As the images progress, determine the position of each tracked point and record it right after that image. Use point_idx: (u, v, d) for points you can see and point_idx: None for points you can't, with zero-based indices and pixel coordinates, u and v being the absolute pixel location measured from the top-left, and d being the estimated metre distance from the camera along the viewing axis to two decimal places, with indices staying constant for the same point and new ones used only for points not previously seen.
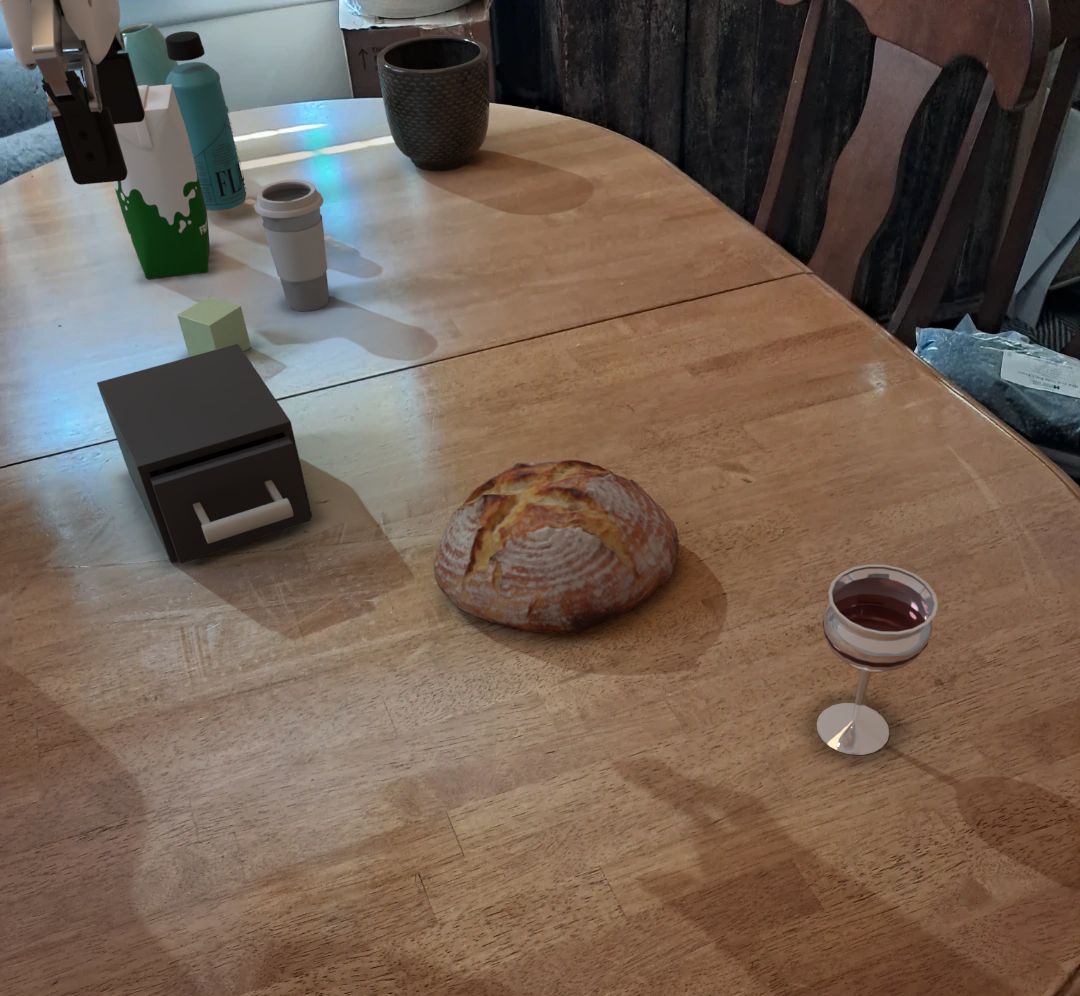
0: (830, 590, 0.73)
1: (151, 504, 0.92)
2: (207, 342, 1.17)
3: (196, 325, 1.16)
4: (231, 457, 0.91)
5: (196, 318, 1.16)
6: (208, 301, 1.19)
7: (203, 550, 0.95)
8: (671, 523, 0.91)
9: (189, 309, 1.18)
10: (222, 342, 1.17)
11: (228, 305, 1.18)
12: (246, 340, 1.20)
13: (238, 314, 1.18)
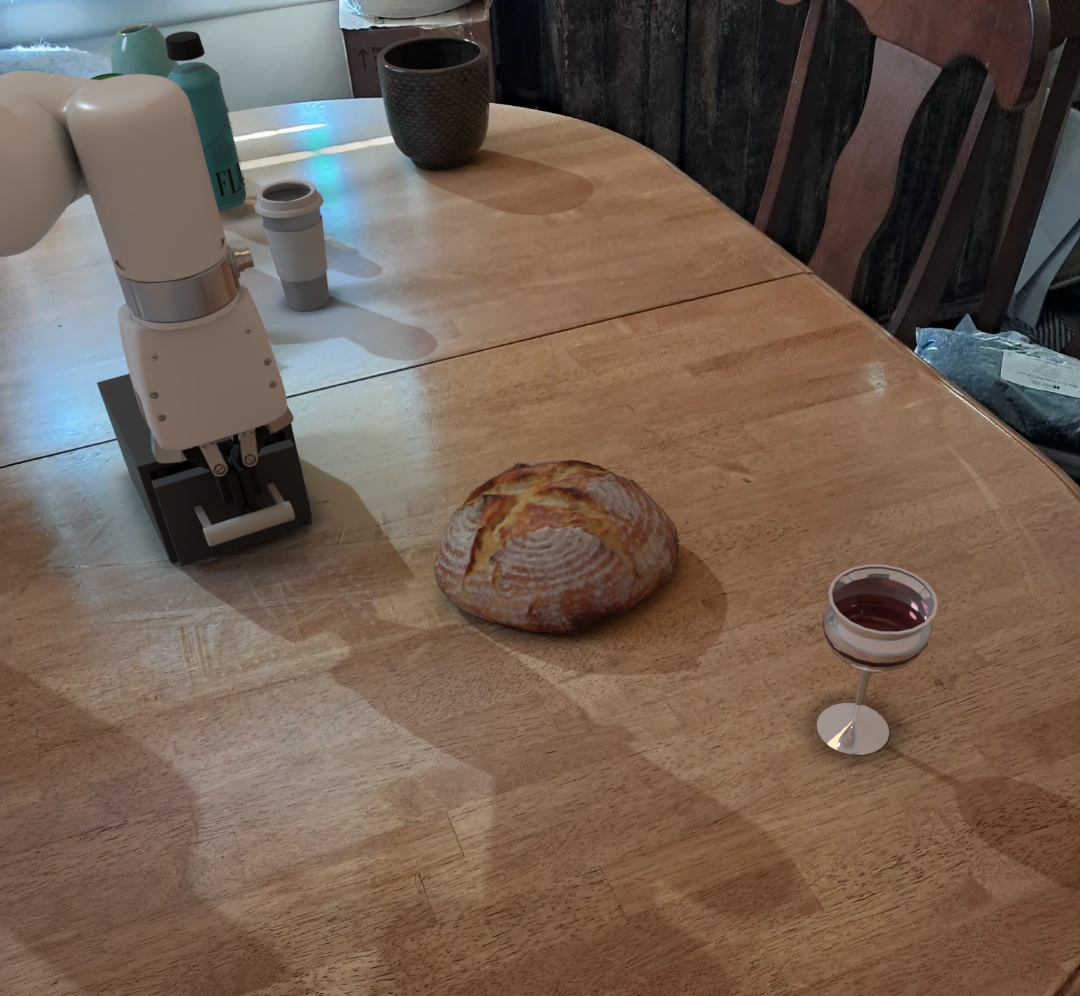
0: (830, 590, 0.73)
1: (151, 504, 0.92)
2: None
3: None
4: None
5: None
6: None
7: (204, 552, 0.95)
8: (671, 523, 0.91)
9: None
10: None
11: None
12: None
13: None
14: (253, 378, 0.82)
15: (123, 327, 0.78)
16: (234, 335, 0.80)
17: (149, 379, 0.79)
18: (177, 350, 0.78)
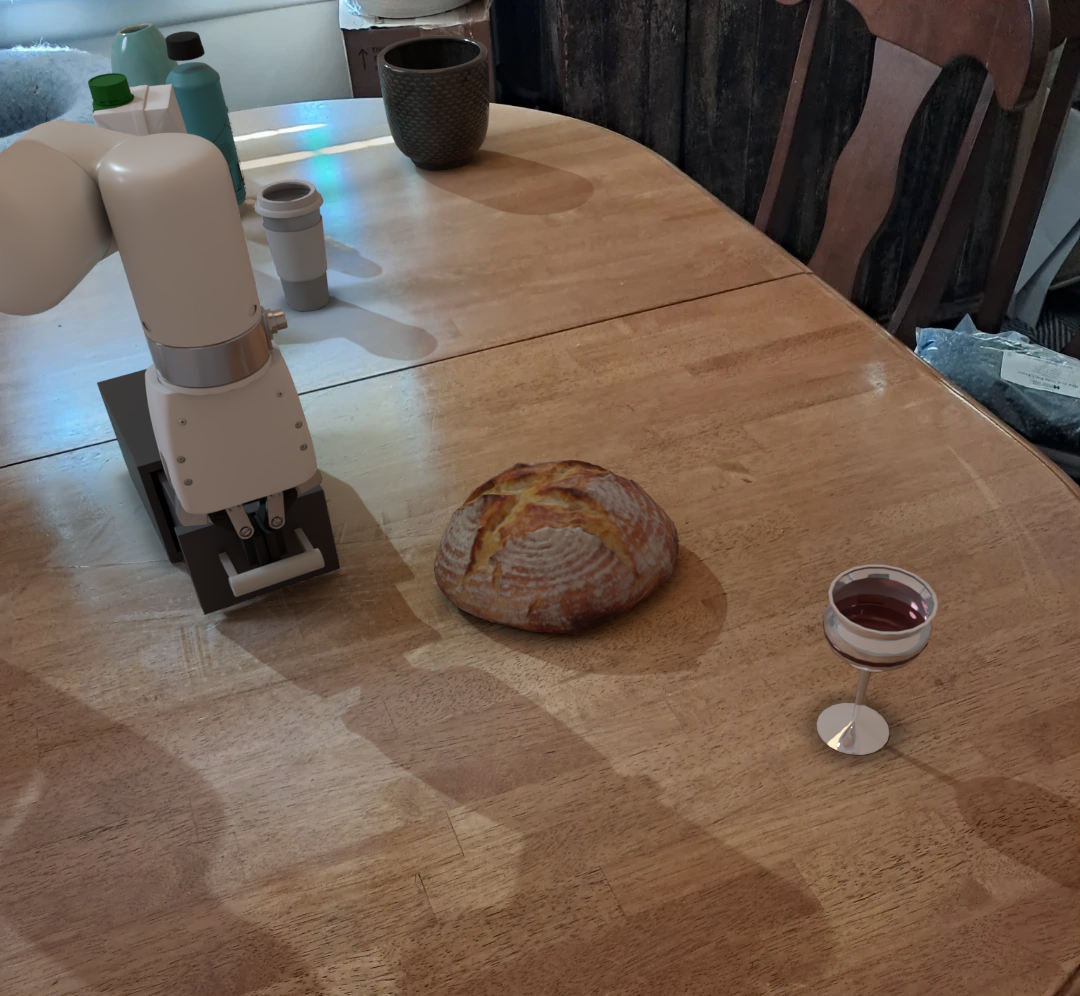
0: (830, 590, 0.73)
1: (151, 504, 0.92)
2: None
3: None
4: None
5: None
6: None
7: (229, 600, 0.91)
8: (671, 523, 0.91)
9: None
10: None
11: None
12: None
13: None
14: (283, 441, 0.79)
15: (150, 390, 0.75)
16: (266, 399, 0.77)
17: (176, 444, 0.76)
18: (206, 415, 0.75)
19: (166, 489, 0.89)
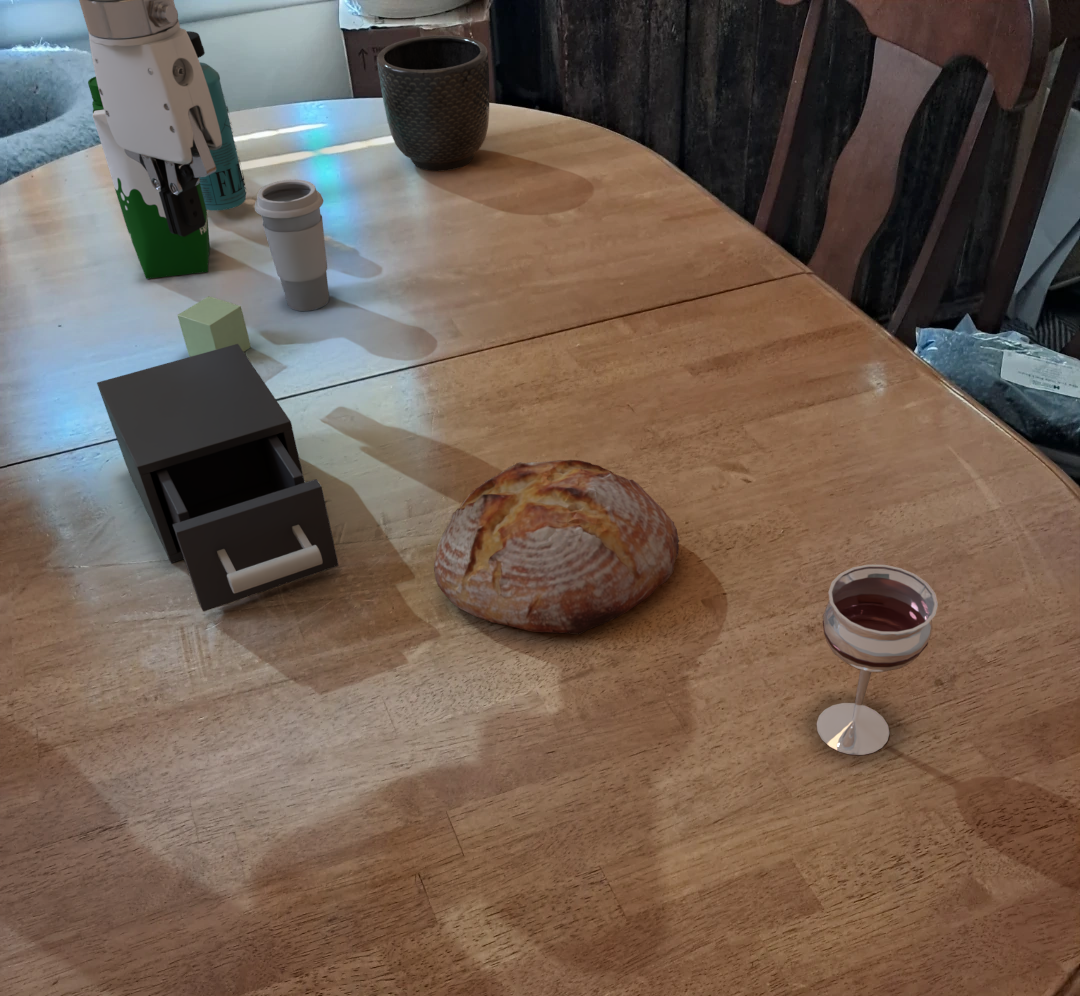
0: (830, 590, 0.73)
1: (151, 504, 0.92)
2: (207, 342, 1.17)
3: (196, 325, 1.16)
4: (258, 502, 0.87)
5: (196, 318, 1.16)
6: (208, 301, 1.19)
7: (227, 597, 0.91)
8: (671, 523, 0.91)
9: (189, 309, 1.18)
10: (222, 342, 1.17)
11: (228, 305, 1.18)
12: (246, 340, 1.20)
13: (238, 314, 1.18)
14: (157, 115, 0.99)
15: None
16: (140, 70, 0.97)
17: (97, 77, 1.01)
18: (106, 62, 0.99)
19: (165, 486, 0.90)
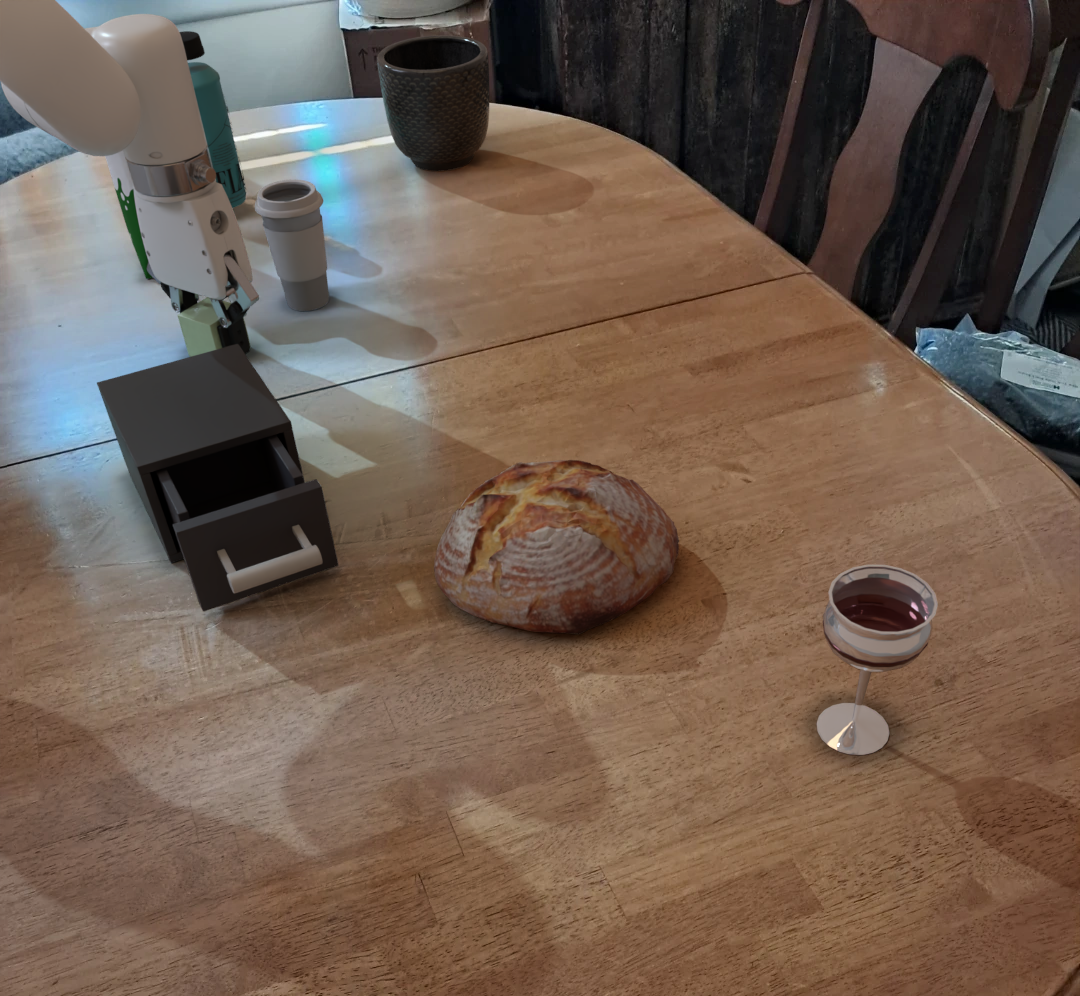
0: (830, 590, 0.73)
1: (151, 504, 0.92)
2: (207, 342, 1.17)
3: (196, 325, 1.16)
4: (258, 502, 0.87)
5: (196, 318, 1.16)
6: (208, 301, 1.19)
7: (227, 597, 0.91)
8: (671, 523, 0.91)
9: (189, 309, 1.18)
10: None
11: (228, 305, 1.18)
12: None
13: None
14: (195, 259, 1.10)
15: None
16: (181, 221, 1.07)
17: (139, 223, 1.11)
18: (149, 212, 1.09)
19: (165, 486, 0.90)
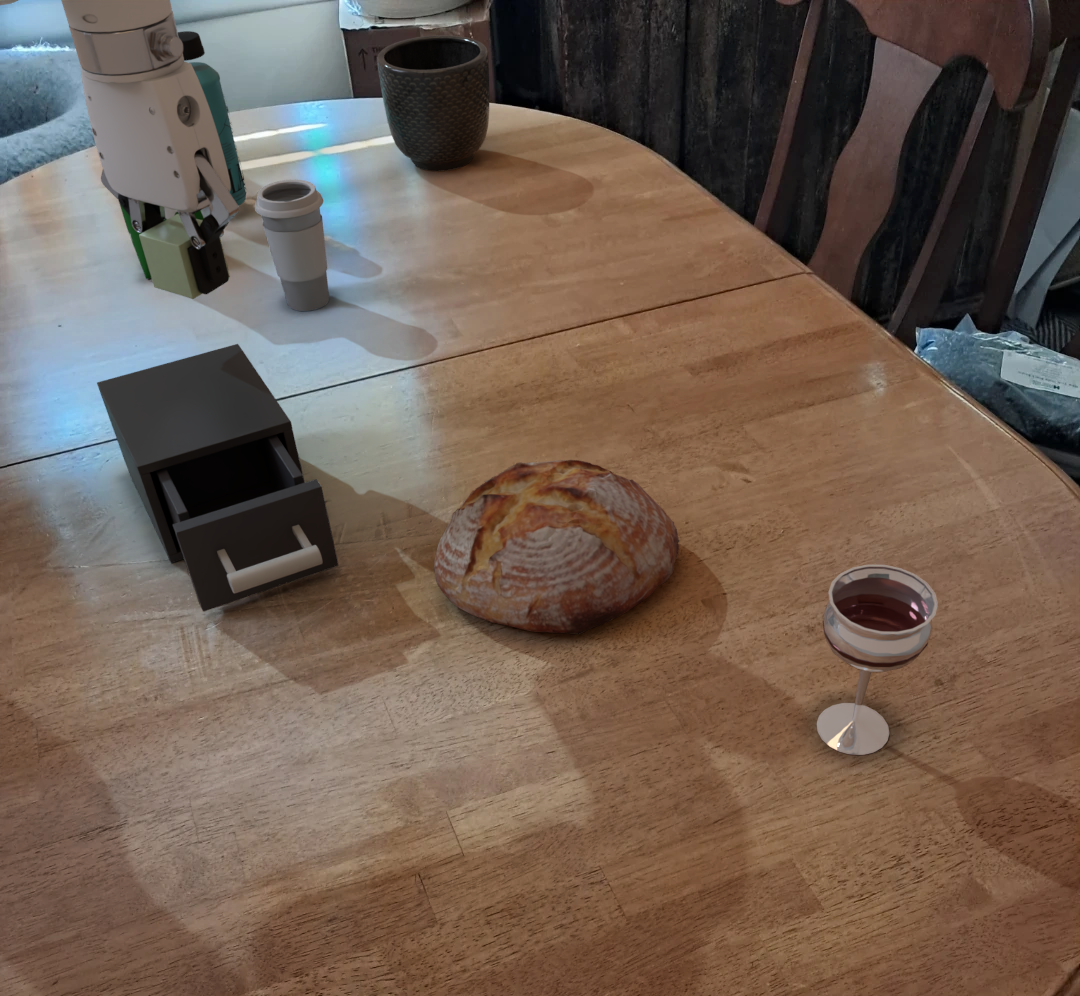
0: (830, 590, 0.73)
1: (151, 504, 0.92)
2: (176, 268, 0.96)
3: (162, 247, 0.95)
4: (258, 502, 0.87)
5: (161, 237, 0.95)
6: (177, 219, 0.97)
7: (227, 597, 0.91)
8: (671, 523, 0.91)
9: (153, 228, 0.96)
10: None
11: None
12: None
13: None
14: (159, 159, 0.88)
15: None
16: (140, 109, 0.86)
17: (90, 116, 0.90)
18: (101, 99, 0.88)
19: (165, 486, 0.90)
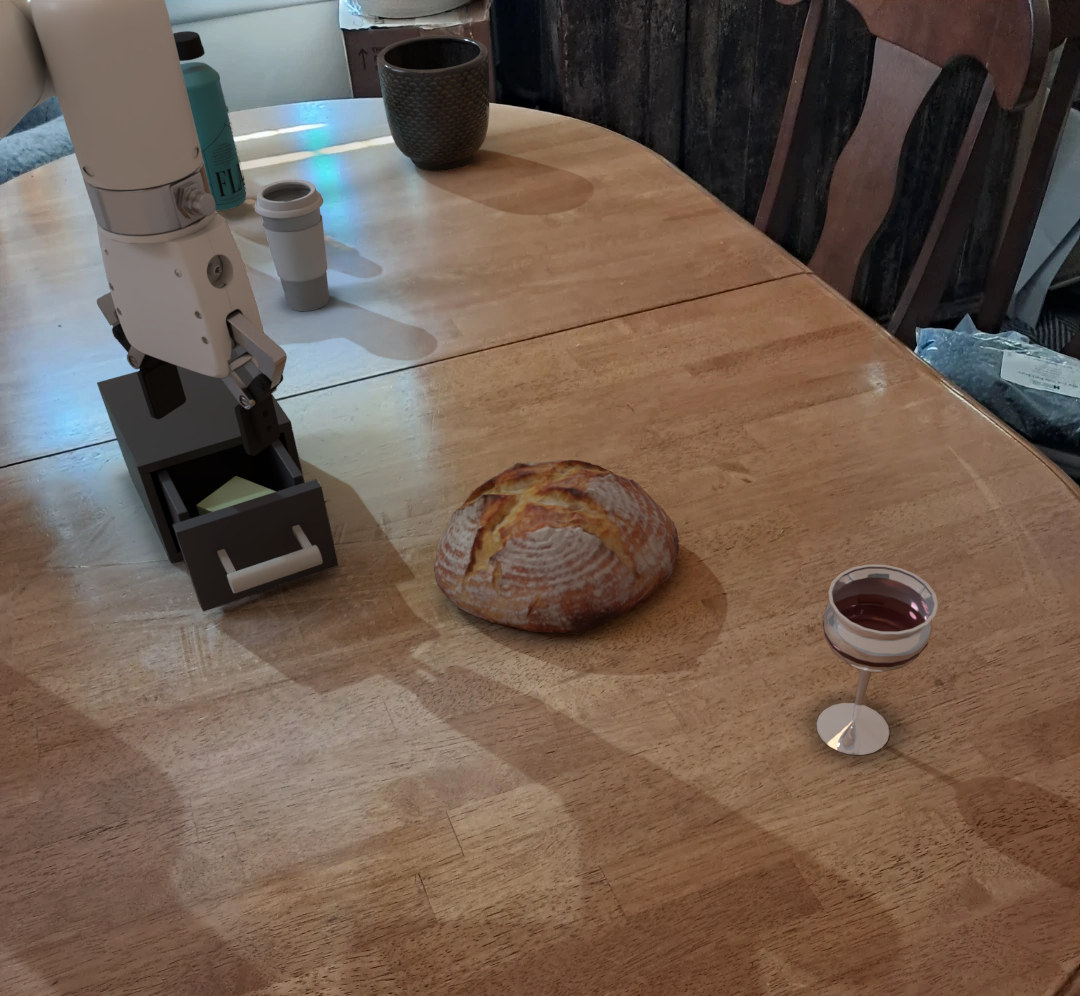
0: (830, 590, 0.73)
1: (151, 504, 0.92)
2: None
3: None
4: (258, 502, 0.87)
5: None
6: (236, 484, 0.93)
7: (227, 597, 0.91)
8: (671, 523, 0.91)
9: (211, 496, 0.92)
10: None
11: (261, 491, 0.92)
12: None
13: None
14: (185, 323, 0.77)
15: None
16: (164, 270, 0.74)
17: (106, 269, 0.78)
18: (119, 255, 0.76)
19: (165, 486, 0.90)
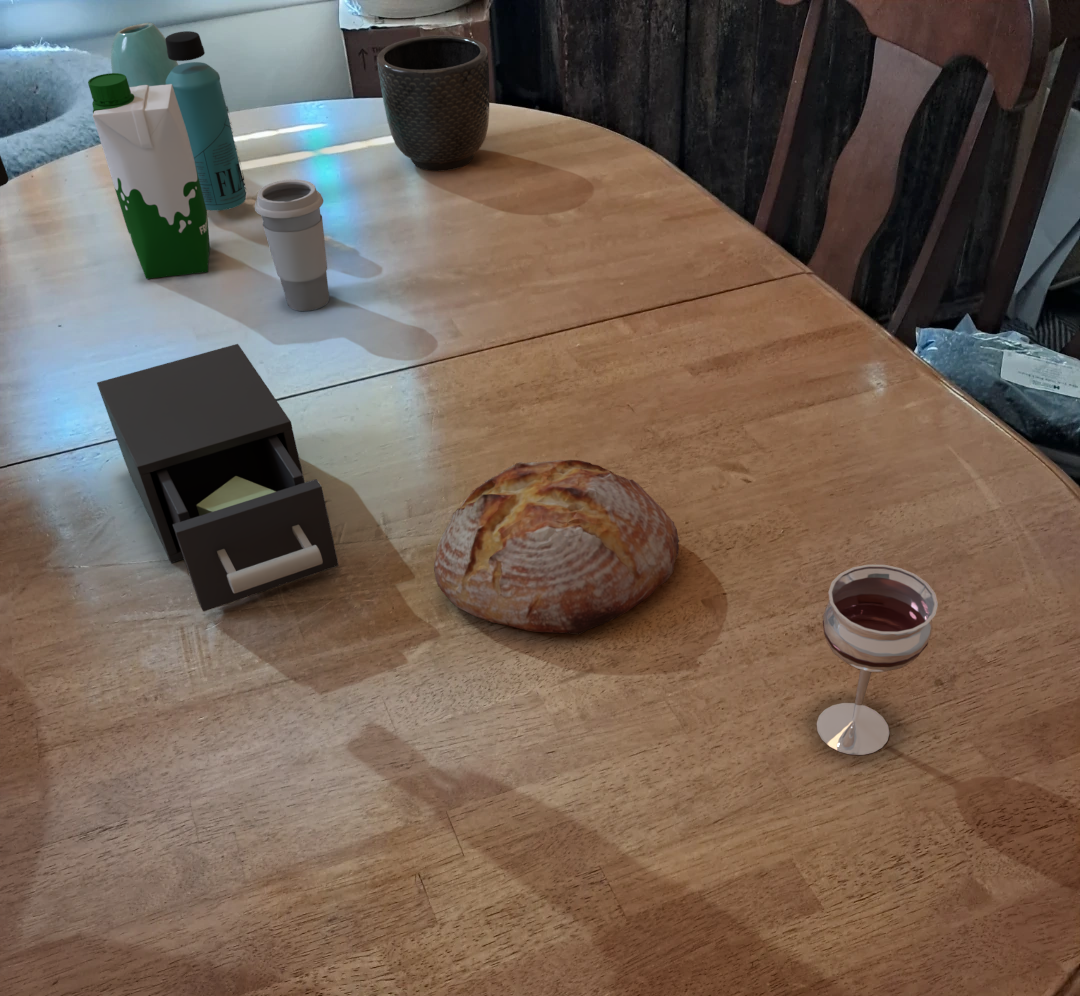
0: (830, 590, 0.73)
1: (151, 504, 0.92)
2: None
3: None
4: (258, 502, 0.87)
5: None
6: (236, 484, 0.93)
7: (227, 597, 0.91)
8: (671, 523, 0.91)
9: (211, 496, 0.92)
10: None
11: (261, 491, 0.92)
12: None
13: None
14: None
15: None
16: None
17: None
18: None
19: (165, 486, 0.90)
